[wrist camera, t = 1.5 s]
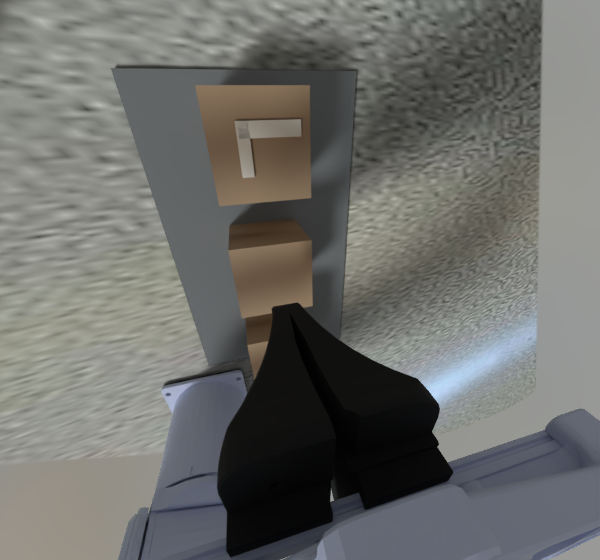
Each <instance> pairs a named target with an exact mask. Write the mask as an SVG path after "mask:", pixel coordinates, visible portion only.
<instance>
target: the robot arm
mask: <svg viewBox="0 0 600 560" xmlns="http://www.w3.org/2000/svg"><path fill="white" fill-rule="evenodd" d="M238 377H239V378H238ZM161 392H162V394H163V396H164V398H165V400H166V402H167V404H168V406H169V408H170V410H171V412H172V419H171V423H170V428H169V432H168V437H167V441H166V446H165V450H164V455H163V460H162V464H161V468H160V473H159V478H158V482H157V486H156V491H155V494H154V497H153V501H152V504H151V507H150V511H149V513H148V509H149V508H140V509H139V511H138V514H135V515H134V516H133V517H132V518H131V520H130V521H129V523H128V526H127V530H126V533H125V537H124V540H123V544H122V548H121V551H120V555H119V559H118V560H280V559H283V558H285V557H287V558H285V559H283V560H549V559H551V558H553V557H555V556H557V555H559V554H562V553H564V552H566V551H568V550H570V549H571V548H574V547H576V546H578V545H580V544H582V543H584V542H586V541H588V540H590V539H593V538H595V537H597V536H599V535H600V421H599V420H598V419H596V418H595V417H594V416H592V415H591V414H590V413H588V412H587V411H586V410H584V409H577V410H574V411H571V412H568V413H565V414H562V415H560V416H557V417H556V418H554V419H553V420H551V421H550V422H549V423H548V425H547V426H546V428H545V430H543V431H540V432H537V433H534V434H532V435H528V436H525V437H523V438H519V439H516V440H513V441H511V442H508V443H505V444H502V445H499V446H496V447H493V448H490V449H487V450H484V451H481V452H478V453H475V454H472V455H469V456H466V457H463V458H460V459H457V460H454V461H451V462H448V463H447V461H446V460H445V458H444V457H443V455H442V454H441V452H440V451H439V449H438V448H437V446H438V445H439V443H438V440H437V439H436V437H435V436H434V434H433V433H432V430H433V428H434V425H435V423H436V421H437V419H438V415H439V411H440V408H439V404H438V403H437V401H436V400H435V399H434V398H433V396H432V395H431V394H430V392H429V391H428V390H427V389H426V388H425V387H424V385H423V384H422V383H421V382H420V381H419V380H418V379H417V378H414V377H411V376H409V375H406V374H403V373H401V372H398V371H395V370H393V369H390V368H388V367H386V366H384V365H382V364H379V363H377V362H375V361H373V360H371V359H369V358H368V357H366V356H364V355H362V354H360V353H358V352H357V351H355V350H353V349H352V348H350V347H349V346H347V345H346V344H344V343H343V342H341V341H340V340H338V339H337V338H336V337H334V336H333V335H332V334H331V333H329V332H328V331H327V330H326V329H325V328H323V327H322V326H321V325H320V324H319V323H318V322H317V321H316V320H315V319H314V318H313V317H312V316H311V315H310V314H309V313H308V312H307V311H306V310H305V309H304V308H303V307H302V306H301V305H300V304H299V303H298V302H297V303H291V304H285V305H279V306H274V307H273V308H272V326H271V332H270V337H269V341H268V344H267V348H266V352H265V355H264V358H263V360H262V363H261V366H260V368H259V371H258V373H257V375H256V378H255V380H254V382H253V384H252V386H251V388H250V390H249V392H248V393H247V390H246V386H245V381H244V377H243V373H242V371H241V370H235V371H231V372H226V373H221V374H217V375H212V376H207V377H202V378H198V379H193V380H188V381H184V382H179V383H174V384H170V385H165V386H163V387H162V390H161ZM331 489H332V493H333V498H334V501H332V502H330V494H331V493H330V492H331ZM291 555H292V556H291ZM288 556H289V557H288Z"/></svg>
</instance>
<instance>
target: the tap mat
mask: <svg viewBox="0 0 600 560" xmlns="http://www.w3.org/2000/svg"><path fill="white" fill-rule="evenodd" d="M111 70H112V73H113V76H114V79H115V82H116V85H117V88H118V91H119V94H120V97H121V100H122V103H123V106H124V109H125V112H126V115H127V118H128V121H129V124H130V127H131V130H132V133H133V136H134V139H135V142H136V146H137V149H138V152H139V155H140V158H141V161H142V164H143V167H144V170H145V173H146V176H147V179H148V182H149V185H150V188H151V191H152V194H153V197H154V200H155V203H156V206H157V209H158V212H159V215H160V218H161V221H162V224H163V228H164V231H165V234H166V237H167V240H168V243H169V246H170V249H171V252H172V255H173V258H174V261H175V264H176V267H177V270H178V273H179V276H180V279H181V282H182V285H183V288H184V291H185V294H186V297H187V300H188V303H189V306H190V309H191V313H192V316H193V319H194V322H195V325H196V328H197V331H198V334H199V337H200V340H201V343H202V346H203V349H204V352H205V355H206V358H207V361H208V364H209V366H211V365H216V364H221V363H226V362H231V361H235V360H240V359H245V358H250V356H249V351H248V346H247V334H246V320H245V318H242V316H241V311H240V306H239V301H238V296H237V291H236V286H235V281H234V276H233V271H232V266H231V262H230V257H229V252H228V245H229V225H237V224H247V223H256V222H266V221H275V220H285V219H295V220H296V221H297V222H298V224H299V225H300V226H301V227H302V229H303V230H304V231H305V232H306V234H307V235H308V236H309V237H310V239H311V240H312V295H313V306H310V307H304V309H305V310H306V311H307V312H308V313H309V314H310V315H311V316H312V317H313V318H314V319H315V320H316V321H317V322H318V323H319V324H320V325H321V326H322V327H323V328H325V329H326V330H327V331H328V332H329V333H331V334H332V335H333V336H334V337H336V338H337V339H340V328H341V312H342V296H343V280H344V263H345V247H346V231H347V215H348V199H349V183H350V167H351V150H352V134H353V118H354V102H355V86H356V71H302V70H218V69H134V68H111ZM195 85H310V142H311V198H306V199H295V200H284V201H273V202H262V203H251V204H239V205H228V206H219V202H218V197H217V192H216V187H215V182H214V177H213V172H212V167H211V162H210V157H209V152H208V147H207V142H206V137H205V132H204V127H203V122H202V117H201V112H200V107H199V102H198V97H197V92H196V87H195Z"/></svg>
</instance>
